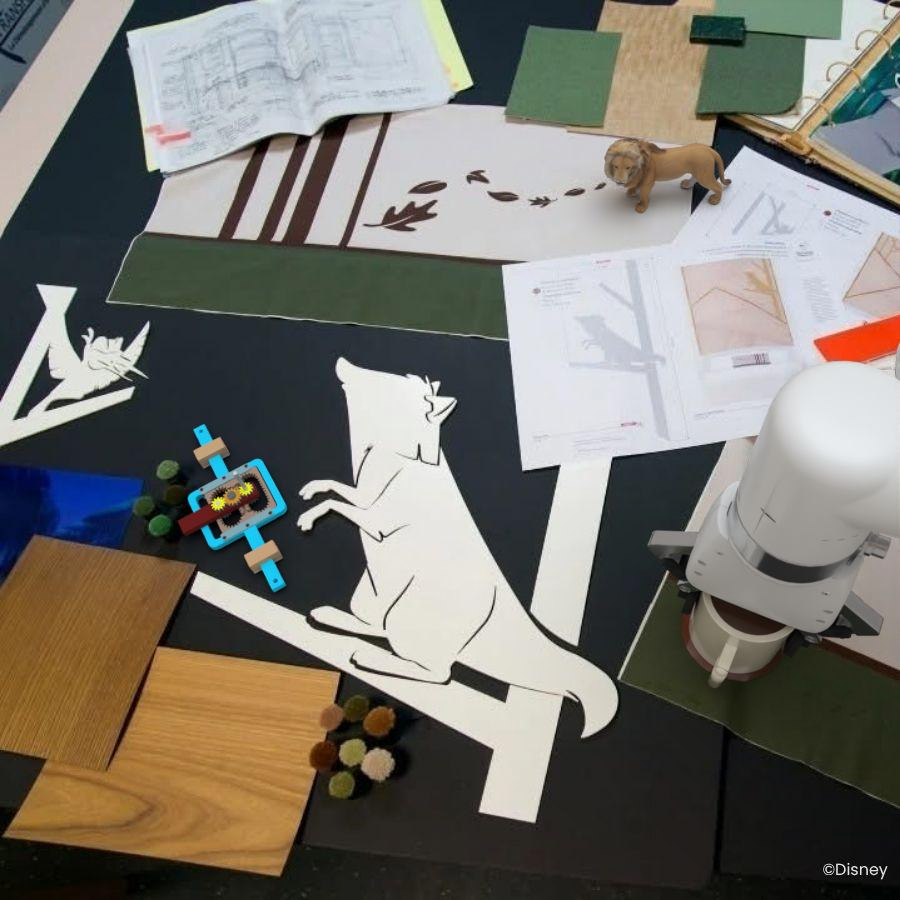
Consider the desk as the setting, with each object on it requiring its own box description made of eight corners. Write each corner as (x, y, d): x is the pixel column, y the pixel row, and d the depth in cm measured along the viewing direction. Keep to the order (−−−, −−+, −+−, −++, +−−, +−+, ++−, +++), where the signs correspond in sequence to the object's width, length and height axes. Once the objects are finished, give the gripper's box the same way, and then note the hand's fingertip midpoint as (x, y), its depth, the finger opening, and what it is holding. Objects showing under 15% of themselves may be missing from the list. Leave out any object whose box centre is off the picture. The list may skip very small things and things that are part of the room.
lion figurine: (607, 228, 95) (612, 164, 87) (595, 195, 98) (598, 130, 90) (738, 201, 95) (754, 134, 87) (721, 168, 98) (735, 101, 90)
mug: (707, 574, 73) (723, 534, 66) (792, 610, 70) (818, 573, 63) (664, 674, 69) (676, 642, 62) (753, 716, 67) (775, 688, 60)
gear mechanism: (226, 621, 76) (320, 569, 78) (205, 600, 72) (305, 544, 73) (153, 458, 86) (237, 414, 88) (129, 429, 81) (219, 384, 83)
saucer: (813, 572, 73) (816, 567, 72) (816, 727, 67) (819, 724, 66) (657, 551, 75) (658, 546, 74) (645, 699, 69) (646, 696, 68)
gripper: (960, 521, 51) (867, 620, 66) (676, 424, 56) (650, 536, 72) (934, 632, 48) (842, 710, 63) (635, 519, 53) (617, 615, 68)
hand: (740, 617), depth 67 cm, fingers closed on mug, 7 cm apart
